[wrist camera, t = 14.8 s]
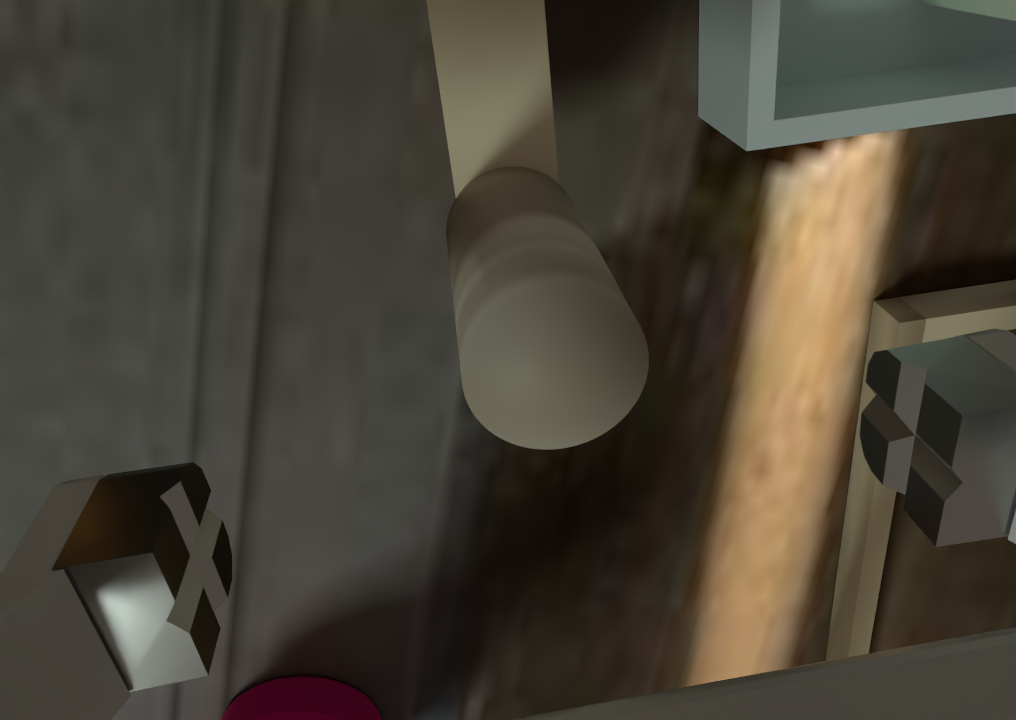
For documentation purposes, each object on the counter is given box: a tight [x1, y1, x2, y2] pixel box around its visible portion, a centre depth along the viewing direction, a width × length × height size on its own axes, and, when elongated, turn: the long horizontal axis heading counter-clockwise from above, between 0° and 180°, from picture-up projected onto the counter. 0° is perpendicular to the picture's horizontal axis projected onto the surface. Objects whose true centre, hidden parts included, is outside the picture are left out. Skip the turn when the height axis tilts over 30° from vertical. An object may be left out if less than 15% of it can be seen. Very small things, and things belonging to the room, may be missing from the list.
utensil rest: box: [826, 280, 1016, 661], centre depth 30 cm, size 12×23×2 cm, turn 6°
